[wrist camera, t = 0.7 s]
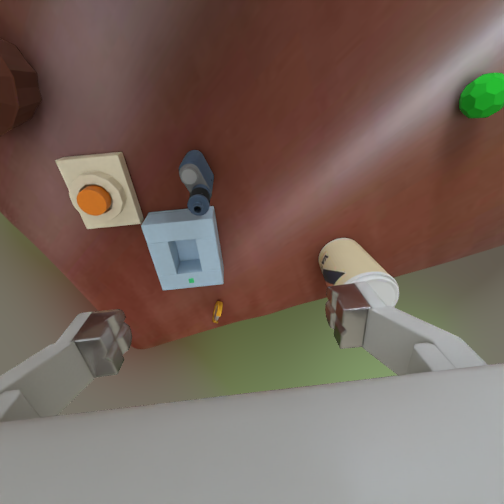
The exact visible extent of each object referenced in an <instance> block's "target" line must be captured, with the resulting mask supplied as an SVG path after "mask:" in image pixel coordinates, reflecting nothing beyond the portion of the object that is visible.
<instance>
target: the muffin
mask: <svg viewBox="0 0 504 504" xmlns="http://www.w3.org/2000/svg"><path fill="white" fill-rule="evenodd" d="M41 101H42V97H41V94H40V91H39V87H38V79H37V73H36V72H35V70H34V69H33V68H32V67H31V66H30V65H29V64H28V63H27V61H26V60H25V59H24V57H23V56H22V54H21V53H20V52H19V50H18V49H17V47H16V46H15V45H13V44H11V43H9V42H6V41H4V40H2V39H0V136H1V135H3V134H5V133H6V132H8V131H9V130H11V129H13V128H15V127H16V126H18V125H20V124H22V123H24V122H26V121H27V120H29V119H31V118H32V117H33V114H34V112H35V109H36V108H37V106H38V105H39V104H40V103H41Z"/></svg>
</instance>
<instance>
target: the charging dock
mask: <svg viewBox="0 0 504 504" xmlns="http://www.w3.org/2000/svg"><path fill="white" fill-rule="evenodd" d="M141 227H142V230H143V233H144V236H145V239H146V242H147V245H148V248H149V251H150V254H151V257H152V260H153V263H154V266H155V269H156V272H157V275H158V277H159V280H160V283H161V286H162V289H163V290H172V289H181V288H191V287H200V286H209V285H219V284H224V266H223V260H222V254H221V248H220V241H219V235H218V229H217V223H216V217H215V210H214V206H209V210H208V212H207V213H206V214H204V215H202V216H197V215H194V214H192V213H191V212H190V211H189V209H179V210H168V211H158V212H149V213H148V215H147V217H146V218H145V220H144V222H143V223H142V225H141Z"/></svg>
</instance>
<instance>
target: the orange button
mask: <svg viewBox="0 0 504 504" xmlns="http://www.w3.org/2000/svg"><path fill="white" fill-rule="evenodd" d="M77 204H78V206H79V207H80V208H81V210H82V211H84V212H85V213H87V214H89V215H93V216H98V215H101V214H103V213H104V212H105V211H106V210H107V209H108V208H109V207H110V205H111V197H110V195H109V193H108V192H107V191H106V190H105V189H103V188H102V187H99V186H96V185H91V186H87V187H86V188H84V189H83V190H82V191H80V192H79V193H78V195H77Z"/></svg>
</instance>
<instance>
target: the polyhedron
mask: <svg viewBox="0 0 504 504" xmlns="http://www.w3.org/2000/svg"><path fill="white" fill-rule="evenodd" d="M503 106H504V74H502V73H489V74H483V75H482V76H480V77H479V78H477V79H476V80H474V81H473V82H471V83H470V84H468V85H467V86H466V87H465V89H464V90H463V92H462V93H461V96H460V99H459V109H460V110H461V112H462V113H463V114H464V115H465V116H467V117H468V118H486V117H489V116H490V115H492V114H494V113H496V112H497V111H499V110H500V109H502V108H503Z"/></svg>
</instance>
